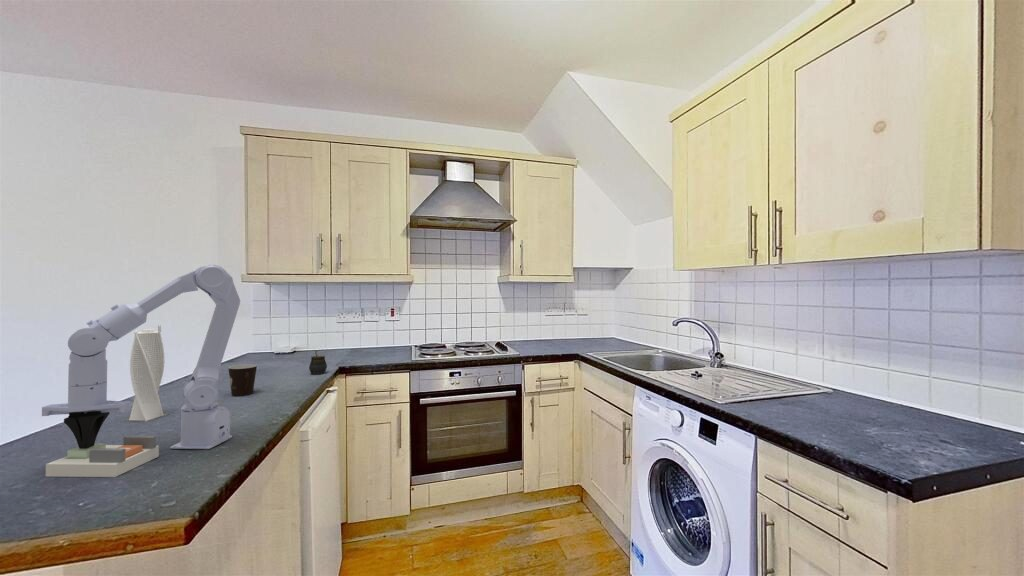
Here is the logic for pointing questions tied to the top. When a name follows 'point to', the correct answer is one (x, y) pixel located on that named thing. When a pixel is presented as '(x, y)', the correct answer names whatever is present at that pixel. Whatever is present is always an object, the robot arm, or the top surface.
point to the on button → (82, 452)
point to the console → (105, 460)
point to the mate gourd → (317, 364)
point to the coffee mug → (242, 379)
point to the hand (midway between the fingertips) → (86, 447)
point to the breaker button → (131, 450)
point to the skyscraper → (146, 374)
